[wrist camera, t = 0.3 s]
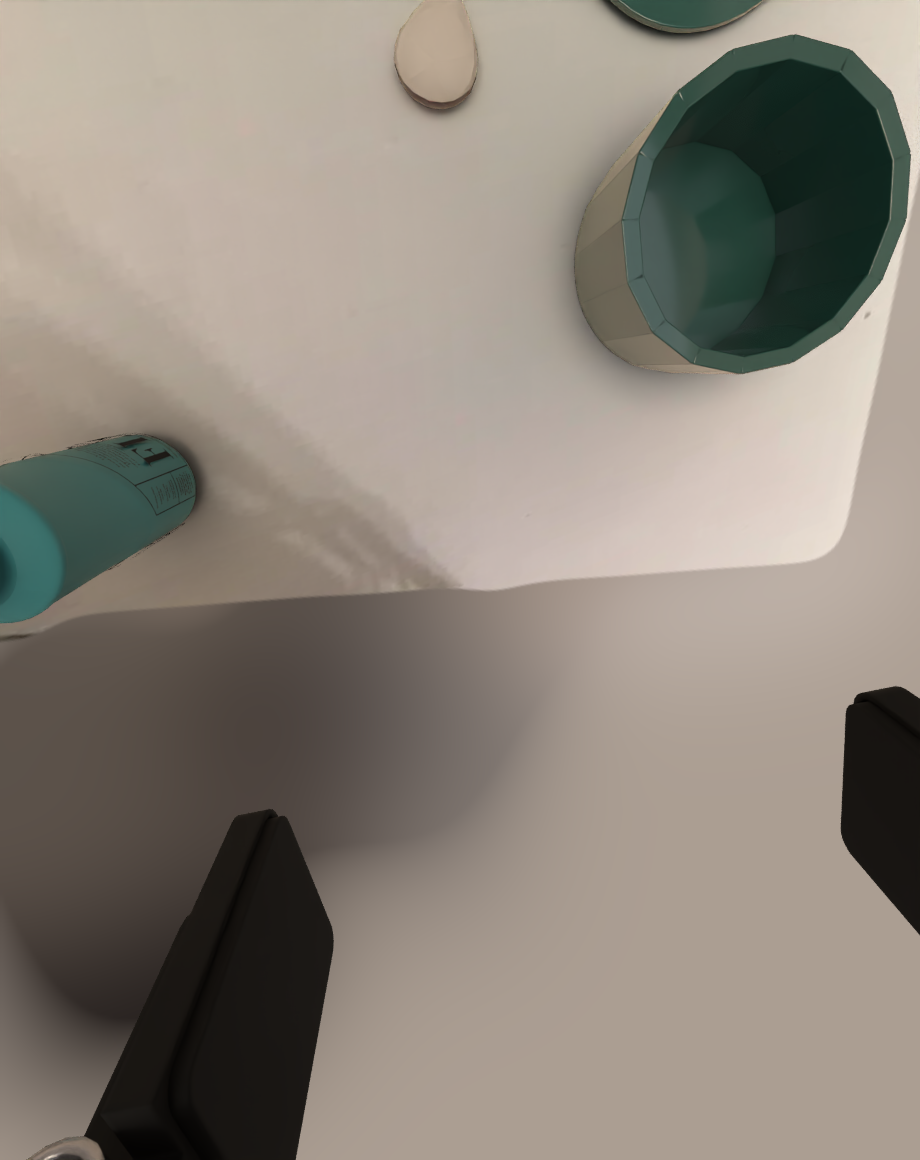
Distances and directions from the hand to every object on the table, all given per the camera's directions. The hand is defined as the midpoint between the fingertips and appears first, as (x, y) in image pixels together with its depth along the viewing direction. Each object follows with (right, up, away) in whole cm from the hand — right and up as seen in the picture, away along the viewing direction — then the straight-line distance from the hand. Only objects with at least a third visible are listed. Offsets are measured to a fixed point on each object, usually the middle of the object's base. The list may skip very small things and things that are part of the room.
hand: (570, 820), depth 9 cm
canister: (+11, +23, +24) cm, 35 cm away
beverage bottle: (-22, +11, +28) cm, 37 cm away
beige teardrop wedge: (-3, +32, +21) cm, 38 cm away
